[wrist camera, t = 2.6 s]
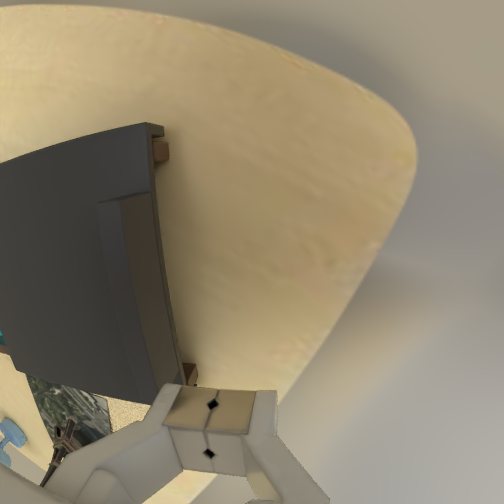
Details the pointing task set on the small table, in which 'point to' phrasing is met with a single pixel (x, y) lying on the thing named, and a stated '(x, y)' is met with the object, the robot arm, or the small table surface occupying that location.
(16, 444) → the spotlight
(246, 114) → the small table surface
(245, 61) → the small table surface
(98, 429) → the eiffel tower figurine
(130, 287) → the lid
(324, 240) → the small table surface
